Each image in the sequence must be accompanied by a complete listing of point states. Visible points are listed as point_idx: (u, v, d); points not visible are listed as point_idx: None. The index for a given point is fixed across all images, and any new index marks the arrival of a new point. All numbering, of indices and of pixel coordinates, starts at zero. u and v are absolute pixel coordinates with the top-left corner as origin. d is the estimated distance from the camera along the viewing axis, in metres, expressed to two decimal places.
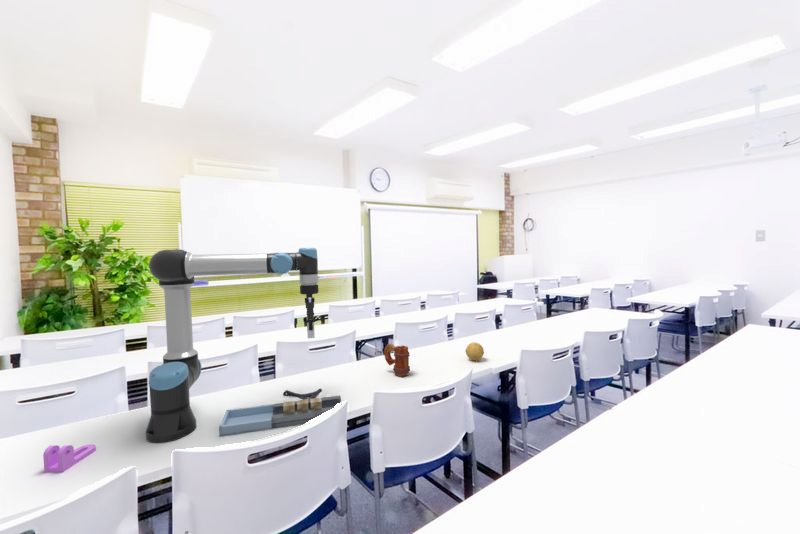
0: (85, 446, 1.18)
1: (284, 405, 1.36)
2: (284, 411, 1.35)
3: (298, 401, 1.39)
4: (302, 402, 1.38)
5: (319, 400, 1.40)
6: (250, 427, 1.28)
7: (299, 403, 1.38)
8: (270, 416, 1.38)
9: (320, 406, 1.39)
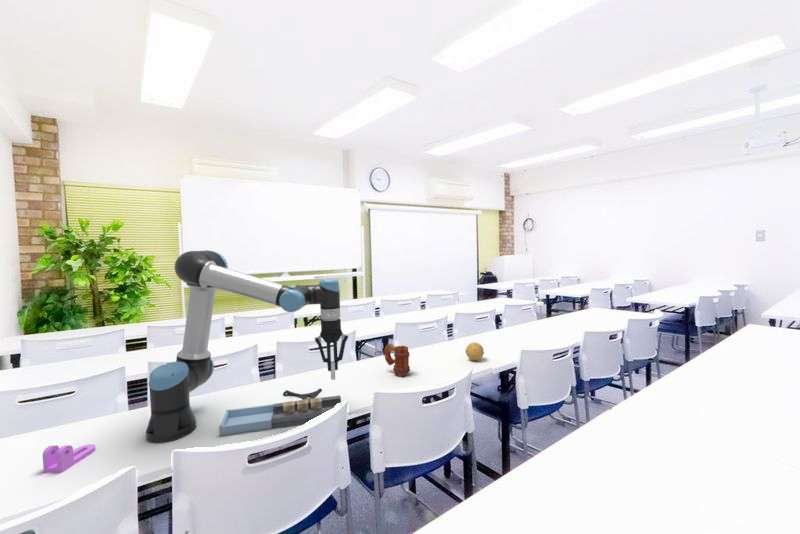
0: (85, 446, 1.18)
1: (284, 405, 1.36)
2: (284, 411, 1.35)
3: (298, 401, 1.39)
4: (302, 402, 1.38)
5: (319, 400, 1.40)
6: (250, 427, 1.28)
7: (299, 403, 1.38)
8: (270, 416, 1.38)
9: (320, 406, 1.39)
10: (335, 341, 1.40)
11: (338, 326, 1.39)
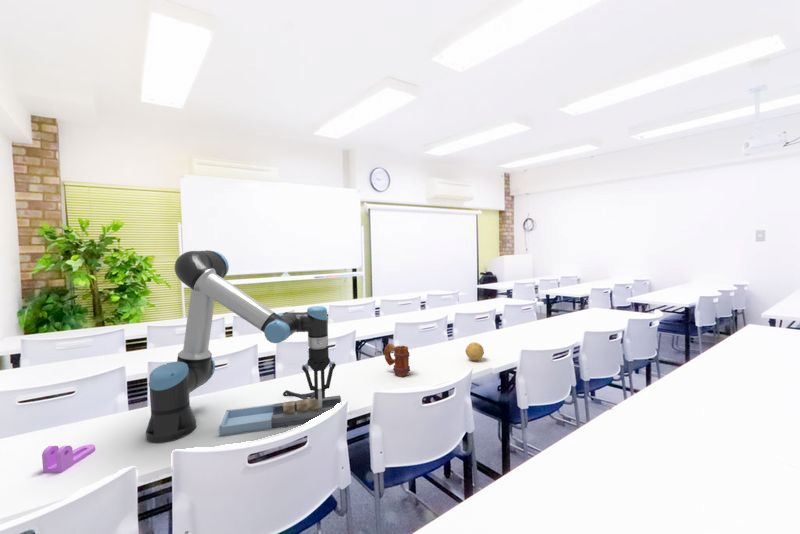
0: (84, 446, 1.17)
1: (284, 405, 1.36)
2: (284, 411, 1.35)
3: (298, 401, 1.39)
4: (302, 402, 1.38)
5: (316, 400, 1.40)
6: (250, 427, 1.28)
7: (298, 403, 1.38)
8: (270, 416, 1.38)
9: (317, 406, 1.39)
10: (322, 369, 1.39)
11: (325, 354, 1.38)
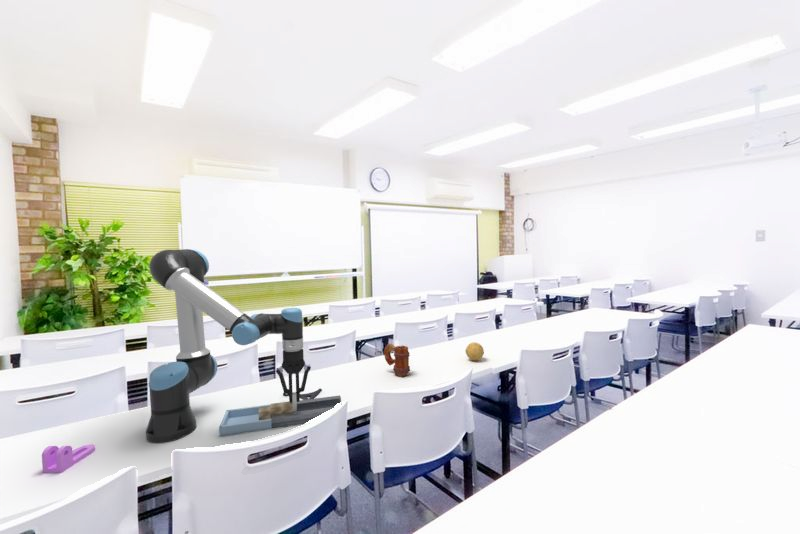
0: (84, 447, 1.17)
1: (259, 411, 1.34)
2: (259, 417, 1.33)
3: (271, 404, 1.37)
4: (275, 405, 1.36)
5: (290, 404, 1.37)
6: (250, 427, 1.28)
7: (272, 406, 1.35)
8: None
9: (291, 410, 1.36)
10: (297, 372, 1.36)
11: (300, 357, 1.36)
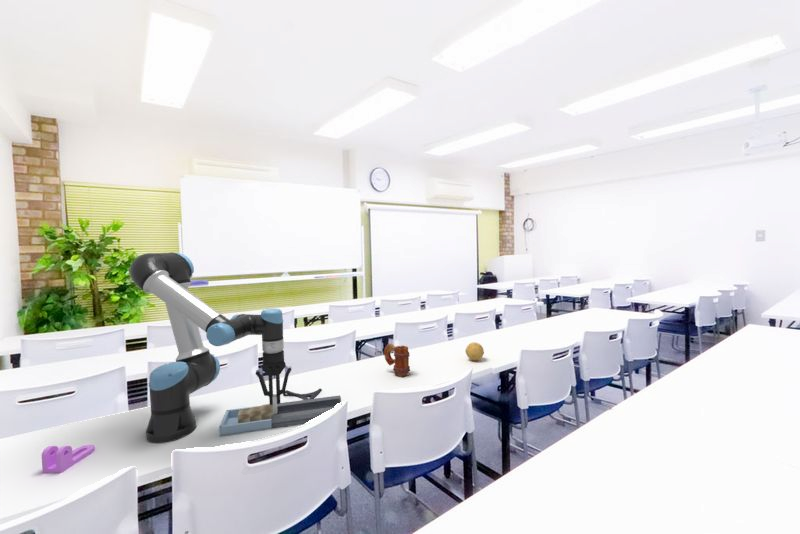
0: (84, 447, 1.17)
1: (239, 414, 1.32)
2: (239, 420, 1.31)
3: (251, 408, 1.35)
4: (255, 409, 1.34)
5: (270, 406, 1.35)
6: (250, 427, 1.28)
7: (252, 410, 1.33)
8: None
9: (271, 413, 1.34)
10: (277, 374, 1.34)
11: (280, 359, 1.34)
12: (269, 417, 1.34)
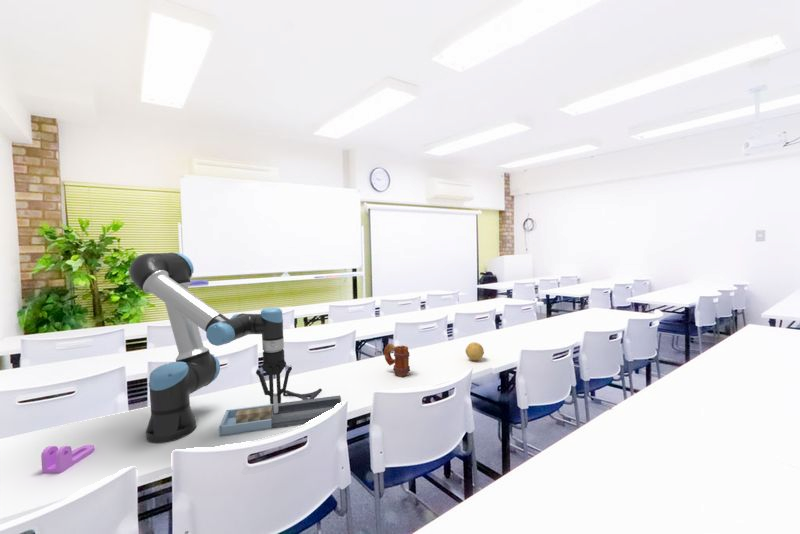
0: (84, 447, 1.17)
1: (237, 414, 1.32)
2: (237, 420, 1.31)
3: (250, 410, 1.35)
4: (253, 411, 1.34)
5: (269, 409, 1.35)
6: (250, 427, 1.28)
7: (250, 412, 1.33)
8: None
9: (269, 416, 1.34)
10: (277, 373, 1.34)
11: (280, 358, 1.33)
12: None
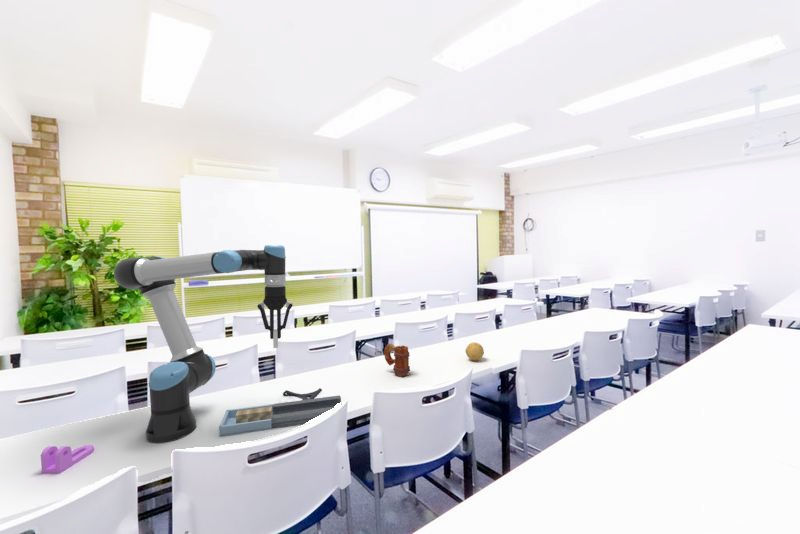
0: (83, 447, 1.17)
1: (237, 414, 1.32)
2: (237, 420, 1.31)
3: (250, 410, 1.35)
4: (253, 411, 1.34)
5: (269, 409, 1.35)
6: (250, 427, 1.28)
7: (250, 412, 1.33)
8: None
9: (269, 416, 1.34)
10: (278, 308, 1.37)
11: (281, 293, 1.36)
12: None
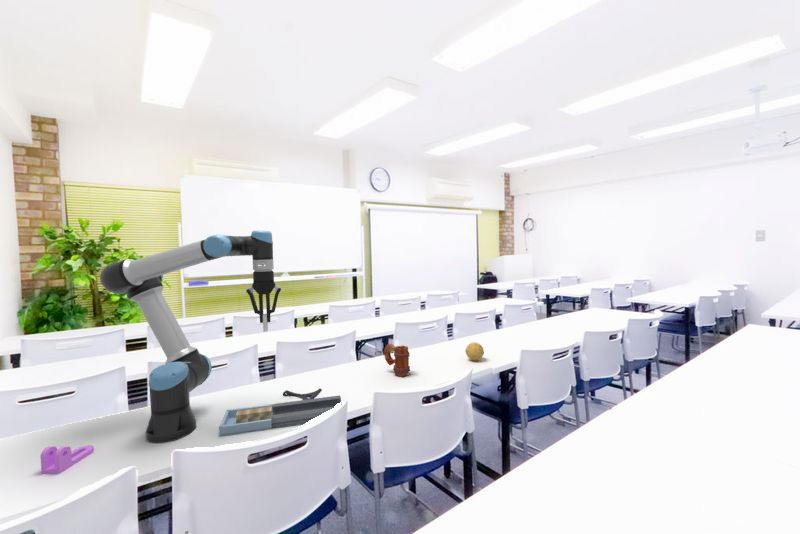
0: (83, 447, 1.17)
1: (237, 414, 1.32)
2: (237, 420, 1.31)
3: (250, 410, 1.35)
4: (253, 411, 1.34)
5: (269, 409, 1.35)
6: (250, 427, 1.28)
7: (250, 412, 1.33)
8: None
9: (269, 416, 1.34)
10: (267, 292, 1.40)
11: (270, 277, 1.39)
12: None
